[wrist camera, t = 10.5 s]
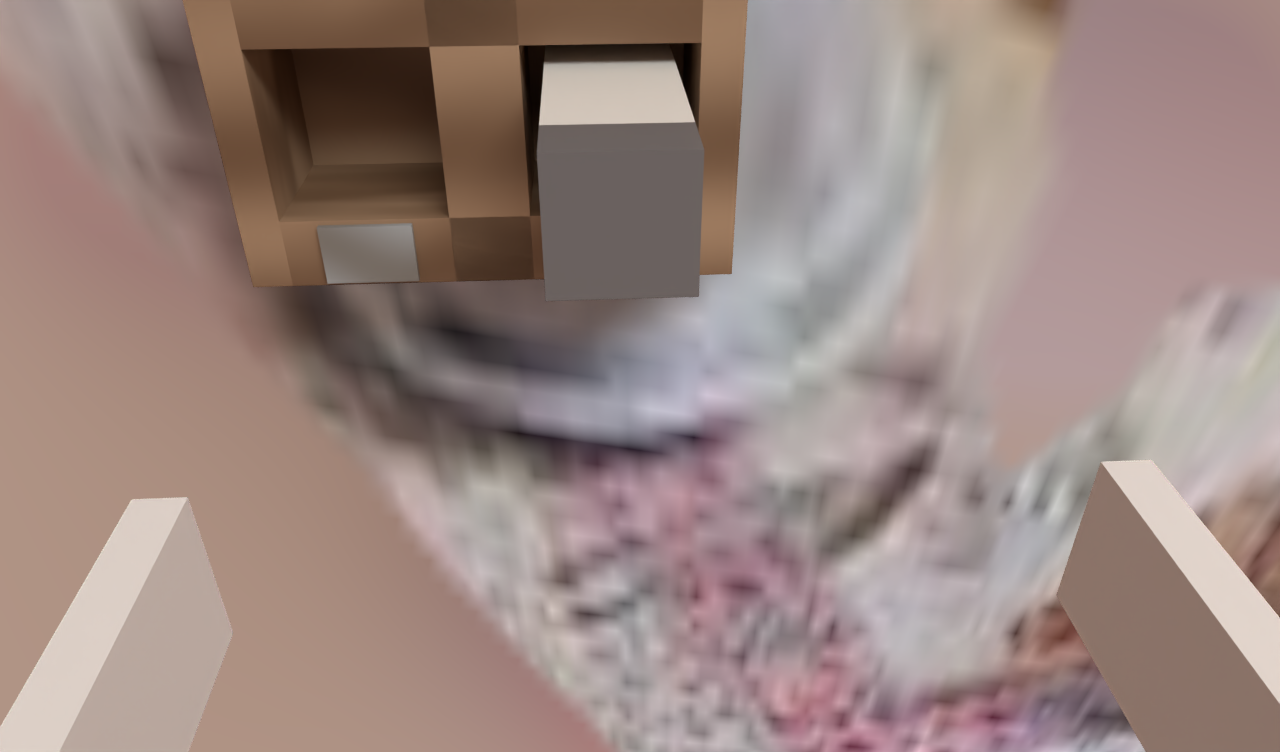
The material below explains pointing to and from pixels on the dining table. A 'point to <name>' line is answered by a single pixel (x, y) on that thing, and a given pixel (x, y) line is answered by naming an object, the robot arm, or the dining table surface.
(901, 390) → the dining table surface
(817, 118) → the dining table surface
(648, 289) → the plug
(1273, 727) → the robot arm
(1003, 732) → the dining table surface
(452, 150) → the socket block
